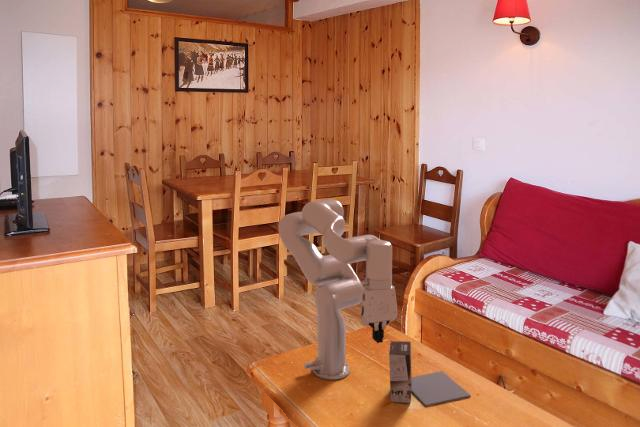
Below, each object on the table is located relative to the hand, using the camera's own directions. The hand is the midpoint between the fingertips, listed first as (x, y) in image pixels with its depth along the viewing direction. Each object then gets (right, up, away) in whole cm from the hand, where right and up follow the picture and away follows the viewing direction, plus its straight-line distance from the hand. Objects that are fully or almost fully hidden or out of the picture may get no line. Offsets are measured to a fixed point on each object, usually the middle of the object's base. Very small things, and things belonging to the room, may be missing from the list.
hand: (378, 340), depth 159 cm
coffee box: (+8, -19, +8) cm, 22 cm away
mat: (+19, -18, +12) cm, 29 cm away
